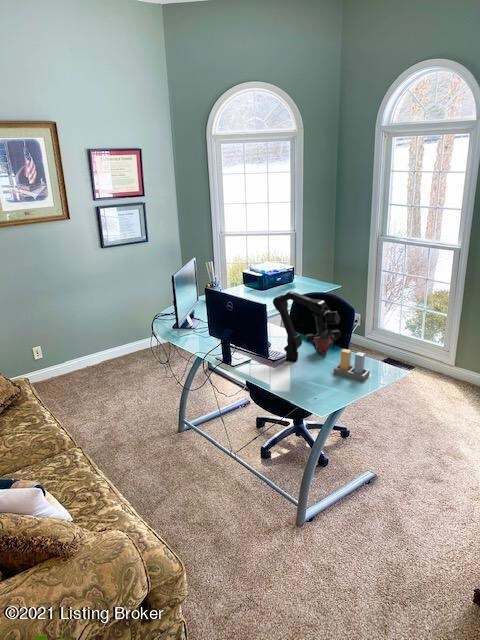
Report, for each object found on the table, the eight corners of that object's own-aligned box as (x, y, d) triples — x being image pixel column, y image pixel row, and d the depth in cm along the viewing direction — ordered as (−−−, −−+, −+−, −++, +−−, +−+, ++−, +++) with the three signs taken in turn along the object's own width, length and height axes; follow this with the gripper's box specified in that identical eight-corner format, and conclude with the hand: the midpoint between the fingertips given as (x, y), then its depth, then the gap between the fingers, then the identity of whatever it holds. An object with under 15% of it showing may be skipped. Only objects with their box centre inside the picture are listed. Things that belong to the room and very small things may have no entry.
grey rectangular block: (351, 376, 255) (353, 354, 251) (355, 372, 259) (357, 351, 255) (361, 379, 253) (363, 356, 248) (364, 375, 257) (366, 353, 252)
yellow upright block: (338, 372, 260) (339, 351, 255) (342, 369, 264) (343, 348, 259) (347, 375, 257) (348, 353, 252) (350, 371, 261) (352, 350, 256)
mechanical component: (329, 349, 292) (331, 355, 283) (313, 349, 292) (315, 355, 283) (330, 330, 288) (333, 336, 278) (314, 330, 288) (316, 336, 278)
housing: (329, 374, 259) (330, 368, 258) (338, 366, 268) (339, 360, 267) (364, 384, 248) (365, 378, 247) (372, 375, 258) (373, 369, 256)
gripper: (306, 329, 251) (310, 357, 255) (341, 324, 251) (344, 352, 254) (303, 324, 262) (307, 351, 266) (337, 319, 262) (340, 346, 265)
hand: (324, 350), depth 263 cm, fingers open, 9 cm apart
